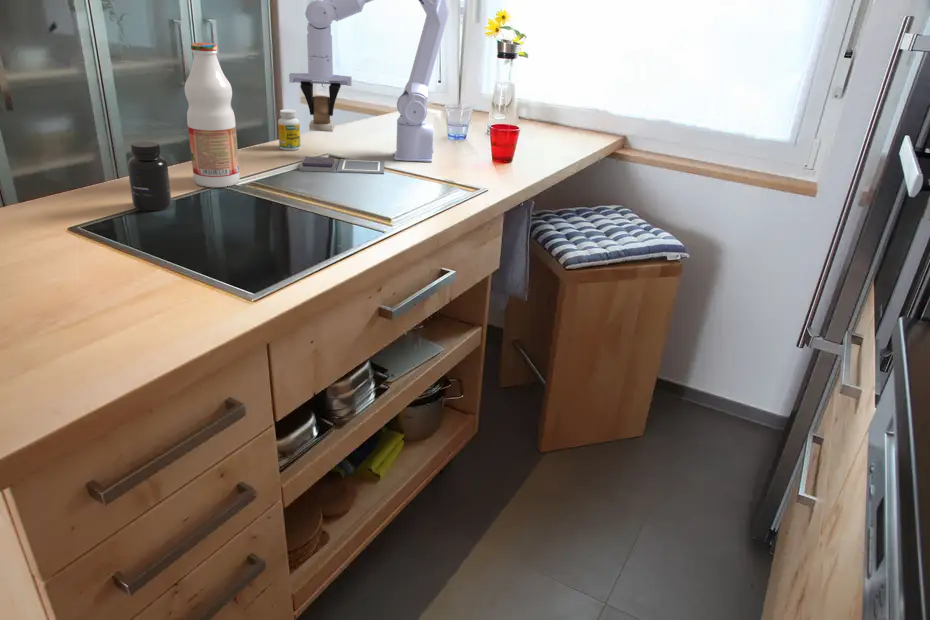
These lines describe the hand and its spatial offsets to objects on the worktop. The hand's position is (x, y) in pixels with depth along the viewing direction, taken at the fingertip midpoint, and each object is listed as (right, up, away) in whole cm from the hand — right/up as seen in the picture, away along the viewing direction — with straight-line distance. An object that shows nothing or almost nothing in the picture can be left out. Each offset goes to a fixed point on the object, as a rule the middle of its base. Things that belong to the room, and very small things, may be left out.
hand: (321, 114), depth 167 cm
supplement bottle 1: (-25, -28, -36) cm, 52 cm away
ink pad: (0, -14, -4) cm, 14 cm away
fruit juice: (-18, -20, -20) cm, 34 cm away
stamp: (0, -3, +2) cm, 3 cm away
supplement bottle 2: (-10, -6, +10) cm, 16 cm away
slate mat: (+10, -13, -1) cm, 16 cm away
